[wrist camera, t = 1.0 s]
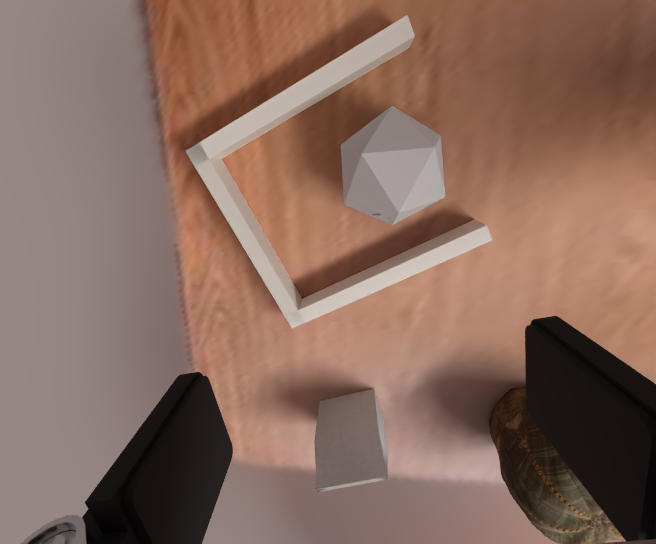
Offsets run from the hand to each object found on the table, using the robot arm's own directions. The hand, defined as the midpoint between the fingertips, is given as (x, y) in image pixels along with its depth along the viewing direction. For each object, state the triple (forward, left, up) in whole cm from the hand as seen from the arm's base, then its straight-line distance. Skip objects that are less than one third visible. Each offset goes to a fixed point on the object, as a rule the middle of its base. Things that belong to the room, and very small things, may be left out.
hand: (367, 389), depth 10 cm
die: (-5, -4, -25) cm, 25 cm away
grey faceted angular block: (+10, +19, -25) cm, 33 cm away
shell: (-8, +29, -25) cm, 39 cm away
